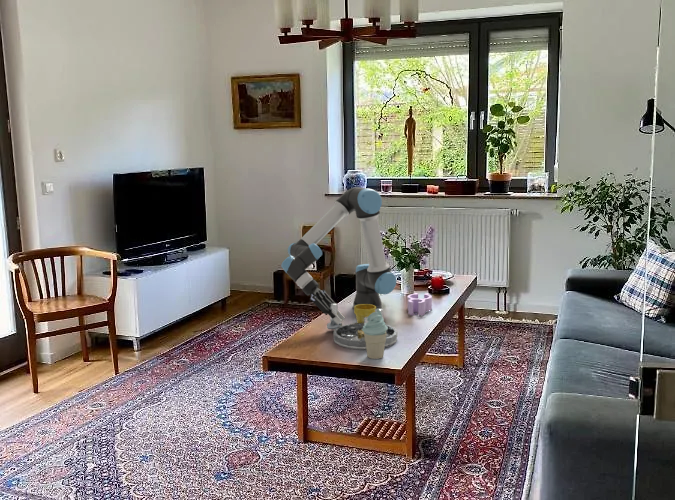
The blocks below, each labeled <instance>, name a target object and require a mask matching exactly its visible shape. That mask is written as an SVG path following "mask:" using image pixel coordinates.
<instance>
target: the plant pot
mask: <svg viewBox="0 0 675 500" xmlns="http://www.w3.org/2000/svg"><path fill="white" fill-rule="evenodd" d="M375 309H376V306H375V305H371V304H359V305H356V306H354V308H353V312H354V315H355V318H356V323H364V318H365V317H368V316H369V315H370V314H372V313H373V312H375Z"/></svg>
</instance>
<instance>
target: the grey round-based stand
mask: <svg viewBox="0 0 675 500" xmlns="http://www.w3.org/2000/svg"><path fill="white" fill-rule="evenodd" d="M335 303H336V302H335ZM335 303H333V304H330V309H331V311H332V310H333V311H334V312H335V313H336V314H337V315H338V310H339V309H338V308H339V307H338V303H336V304H335ZM329 319H330V321H329V322H328V323H327V324H326V328H327V329H328V330H332V331H333V330H335V329H336V328H338V327H340V326H343V324H342V322H340V323H339V324H337V323H336V322H335V321H334V320H333V319H332V318H331V317H330V316H329Z"/></svg>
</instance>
